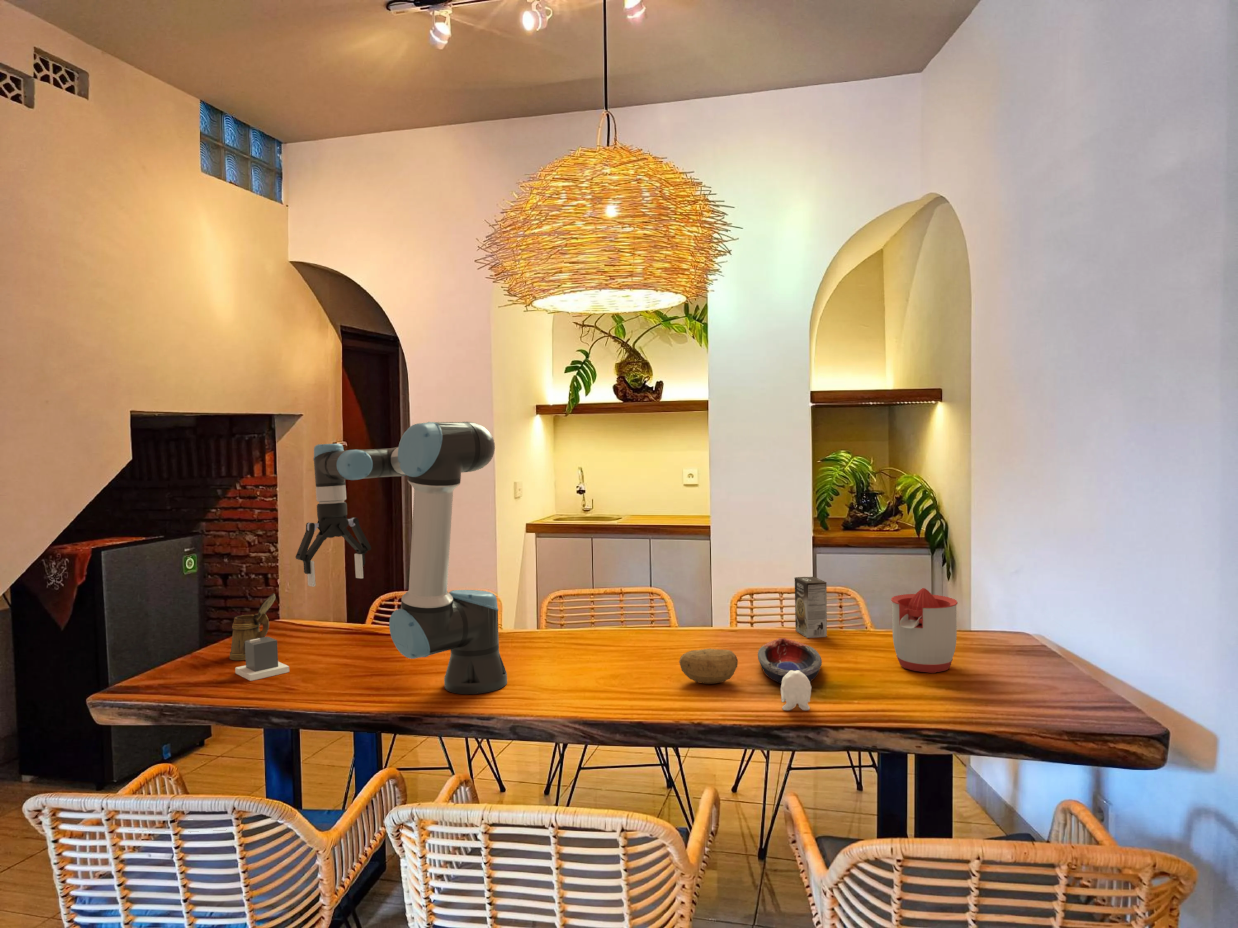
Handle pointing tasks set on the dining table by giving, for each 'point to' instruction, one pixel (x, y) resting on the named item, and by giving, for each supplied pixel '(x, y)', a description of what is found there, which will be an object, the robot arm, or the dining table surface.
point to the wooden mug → (249, 629)
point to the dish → (788, 659)
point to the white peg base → (261, 672)
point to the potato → (709, 665)
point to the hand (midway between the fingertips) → (336, 582)
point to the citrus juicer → (924, 631)
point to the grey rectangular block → (261, 654)
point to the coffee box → (811, 607)
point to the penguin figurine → (795, 690)
